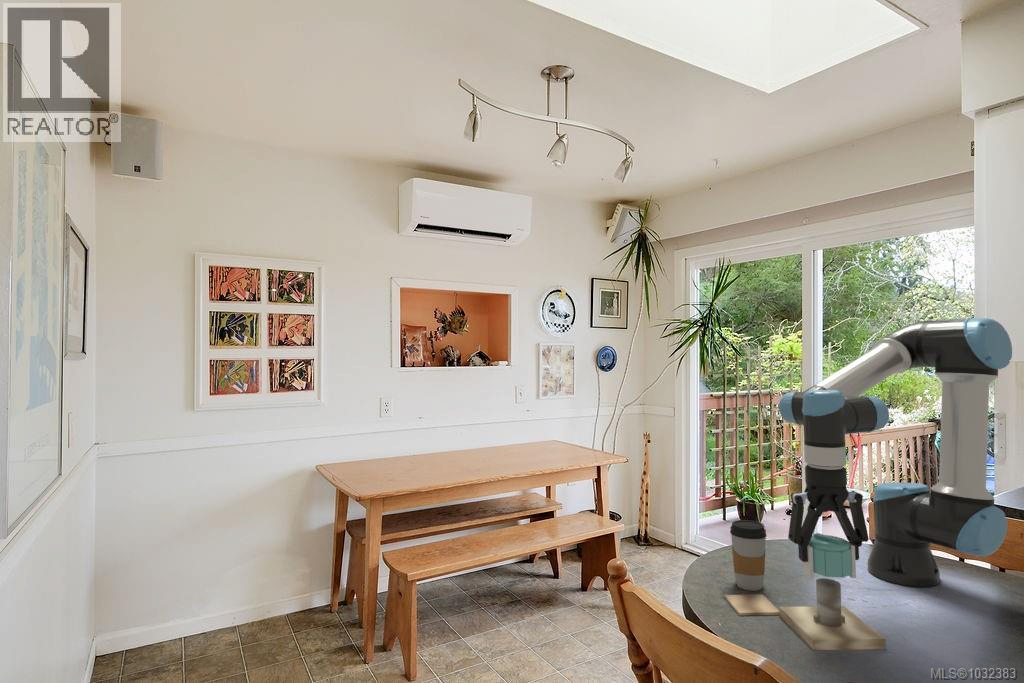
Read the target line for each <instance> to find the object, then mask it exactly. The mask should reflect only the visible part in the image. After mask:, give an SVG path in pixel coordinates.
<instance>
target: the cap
mask: <svg viewBox="0 0 1024 683" xmlns="http://www.w3.org/2000/svg"><path fill="white" fill-rule="evenodd" d="M809 545H810V546H811V547H813V571H814V574H817V575H819V576H823V577H826V578H838V579H839V578H842V579H844V578H846V577H850V576H849V575H851V574H852V571H851V549H850V548H849V541H848V540H846V539H845V538H841V537H839V536H834V535H829V534H828V535H827V534H823V533H819V532H816V533H813V535H812V537H811V540H810V542H809Z"/></svg>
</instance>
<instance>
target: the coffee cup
mask: <svg viewBox="0 0 1024 683" xmlns="http://www.w3.org/2000/svg"><path fill="white" fill-rule="evenodd" d="M729 532H730V535H731V536H730V538H731V549H732V550H731V551H732V562H733V563H732V564H733V572H734V580H735V583H736V585H737V587H738V588H740V589H742V590H746V591H760V590H762V588H763V586H764V582H765V578H764V577H765V570H766V569H765V566H766V565H765V564H766V540H767V538H766V537H767V530H766V528H765V525H764V524H763V523H761V522H759V521H757V520H756V521H754V520H748V519H739V520H734V521H732V523H731V525H730V531H729Z"/></svg>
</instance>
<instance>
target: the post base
mask: <svg viewBox="0 0 1024 683" xmlns="http://www.w3.org/2000/svg"><path fill="white" fill-rule="evenodd" d="M815 582H816V583H815V586H816V606H813V605H812V606H810V605H809V606H779V607H778V610H779V615H778V616H779V617H780V618H781V619H782V620H783V621H784V622H785V623H786V624H787V625H788V626H789V627H790V628H791V629H792V630H793V631H794V632H795V634H797V636H798V637H800V638H801V640H802V641H804V643H806V645H807V646H808V647H809V648H811V649H812V651H839V650H840V651H843V650H844V651H846V650H848V651H849V650H850V651H851V650H852V651H854V650H856V651H857V650H887V639H886V638H885V637H884V636H883V635H882V634H881V633H879V632H878V631H877V630H875V629H874V628H873V627H872V626H870V625H869V624H868V623H867V622H865V621H863V620H862V619H861V618H860V617H859V616H857V614H855V613H853V612H852V611H851V610H849V609H848V608H847V607H846V606H844V605H842V589H841V588H842V586H841V583H840V582H839V581H838V580H834V579H832V578H831V579H830V578H827V577H826V578H817V579H816V581H815Z"/></svg>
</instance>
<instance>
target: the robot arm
mask: <svg viewBox="0 0 1024 683" xmlns="http://www.w3.org/2000/svg"><path fill="white" fill-rule="evenodd" d="M1012 358H1013V345H1012V341H1011V338H1010V336H1009V333H1008V332H1007V330H1006V329H1005V326H1003V325H1002V324H1001V323H1000V322H999V321H997V320H994V319H991V318H988V317H987V318H984V317H978V318H977V317H968V318H955V319H954V318H953V319H941V320H940V319H938V320H937V319H935V320H921V321H917V322H915V323H914V322H913V323H911V324H908V325H906V326H904V327H903V326H902V327H901V328H898V329H896V330H894V331H892V332H891V333H889V334H886V335H885V336H883V337H882V338H879V339H878V340H877V341H876V342H874V344H873V345H872V348H871V350H869V351H866V353H864V354H862V355H861V356H859V357H857V358H856V359H854V360H853V361H851V362H849V363H847V364H846V365H845V366H842V367H841V368H839V369H838V370H836V371H835V372H833V373H831V374H830V375H828V376H827V377H825V378H824V379H822V380H820V381H819V382H817V383H815V384H814V385H812V386H811V387H809V388H807V389H805V390H804V391H802V392H799V391H791V392H787V393H785V394H783V395H782V397H781V398H780V399H779V403H778V411H779V414H780V417H781V418H782V419H783V421H785V422H787V423H789V424H795V425H798V426H802V427H803V437H804V439H803V442H804V443H803V450H804V451H803V452H804V463H806V465H805V466H804V476H805V477H804V479H805V485H806V486H805V490H804V491H803V492H801V493H800V492H799V493H797V492H792V493H791V494H790V499H791V503H792V505H791V506H792V507H791V514H790V520H789V521H790V522H789V526H788V527H789V529H788V536H787V537H788V540H789V541H790V542H792V543H794V544H796V545H797V546H798V548H797V549H798V558H799V560H801V561H802V568H803V569H802V570H803V572H802V573H803V575H804V576H805V577H806V578H808V579H809V580H814V579H815V577H814V574H815V573H814V571H813V547H811V546H810V545H809V542H810V540H811V537H812V535H814V532H815V529H816V526H817V524H818V522H819V519H820V517H822V515H823V513H828V512H833V513H834V515H835V516H836V519H837V521H838V523H839V525H840V527H841V529H842V531H843V533H844V535H845V537H846V539H847V541H848V542H849V548H850V549H851V571H852V574H851V575H849V576H848V577H850V578H852V579H856V578H857V569H856V567H857V566H856V564H857V563H856V561H859V558H860V550H859V549H860V548H859V547H862V545H863V542H866V543H867V542H868V541H869V538H870V537H869V534H868V530H867V524H866V519H865V515H864V510H863V500H864V499H863V498H864V496H863V494H862V493H860V492H857V491H855V490H851V491H849V490H848V489H847V484H848V480H847V479H848V478H847V477H848V476H847V473H848V472H847V468H846V467H845V466H846V465H847V453H846V452H847V449H846V435H850V434H851V435H852V434H860V433H872V432H875V431H879V430H882V429H883V428H884V427H886V426H887V424H888V422H889V420H890V419H889V418H890V413H889V412H890V411H889V408H888V406H887V405H886V403H885V402H884V401H883V400H882V399H881V398H879V397H876V396H873V395H871V396H869V395H866V396H865V395H863V394H865V393H866V392H867V391H869V390H871V389H872V388H874V387H876V386H877V385H878V384H880V383H881V382H883V381H884V380H886V379H888V378H889V377H891V376H893V375H894V374H896V375H897V374H903V373H905V372H907V371H908V370H910V369H915V368H934V375H935V376H936V377H938V379H939V380H940V381H941V382H942V384H941V385H942V387H941V416H940V418H941V419H940V444H939V470H938V471H939V472H938V473H939V474H938V482H937V483H936V484H934V485H933V486H931V487H930V488H929V486H928V485H926V484H923V483H919V482H918V483H916V482H886V483H885V482H884V483H880V484H878V485H876V486H875V487H874V491H873V499H872V502H873V517H874V518H873V519H874V520H873V523H874V542H873V545H872V548H871V551H870V553H869V557H868V559H867V571H868V572H869V573H870V574H871V575H873V576H875V577H876V578H879V579H881V580H883V581H887V582H890V583H893V584H897V585H903V586H908V587H920V588H926V587H927V588H928V587H935V586H937V585H939V584H940V583H941V574H940V569H939V567H938V565H937V562H936V559H935V558H934V554H933V552H932V550H931V544H933V545H937V546H939V547H942V548H946V549H950V550H953V551H955V552H959V553H960V554H962V555H963V554H964V555H965V554H968V555H970V556H975V557H983V558H984V557H988V556H991V555H993V554H994V553H996V551H998V550H999V548H1000V547H1001V545H1002V544H1003V542H1004V541H1005V538H1006V536H1007V531H1008V519H1007V517H1006V514H1005V511H1003V510H1002V509H1000V508H999V507H997V506H995V496H994V495H993V494H991V492H990V491H988V490H987V471H988V470H987V468H988V467H987V462H988V437H989V436H988V435H989V434H988V433H989V432H988V431H989V428H988V426H989V400H990V398H989V397H990V384H991V383H992V382H994V381H995V380H997V379H998V378H999V370H1002V369H1005V368H1007V367H1008V366H1009V365H1010V361H1011V360H1012ZM806 500H807V501H808V502H809V504H808V506H807V507H806V508H807V512H806V516H805V517H804V512H805V504H806ZM847 500H848V504H849V509H850V515H851V520H852V521H851V520H850V518H849V516H848V511H847V509H846V507H845V505H844V504H845V503H846V501H847ZM803 518H804V521H803Z"/></svg>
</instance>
